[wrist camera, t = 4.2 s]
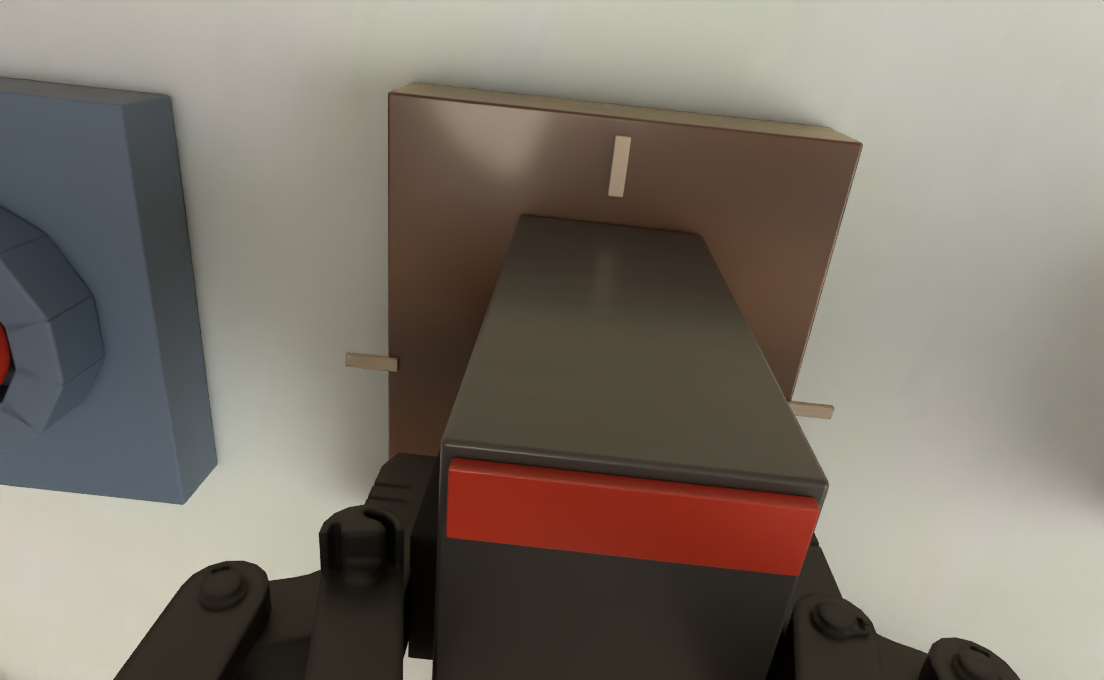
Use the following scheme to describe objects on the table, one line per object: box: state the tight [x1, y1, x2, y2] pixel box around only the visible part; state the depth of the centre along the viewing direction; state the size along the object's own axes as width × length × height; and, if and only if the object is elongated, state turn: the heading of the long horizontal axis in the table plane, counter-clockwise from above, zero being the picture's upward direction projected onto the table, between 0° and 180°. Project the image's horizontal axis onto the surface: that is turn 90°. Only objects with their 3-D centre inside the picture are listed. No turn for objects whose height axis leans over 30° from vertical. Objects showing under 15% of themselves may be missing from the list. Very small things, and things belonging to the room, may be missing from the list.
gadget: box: [432, 215, 829, 680], centre depth 14 cm, size 9×4×10 cm, turn 174°
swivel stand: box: [346, 83, 863, 460], centre depth 20 cm, size 14×13×3 cm
